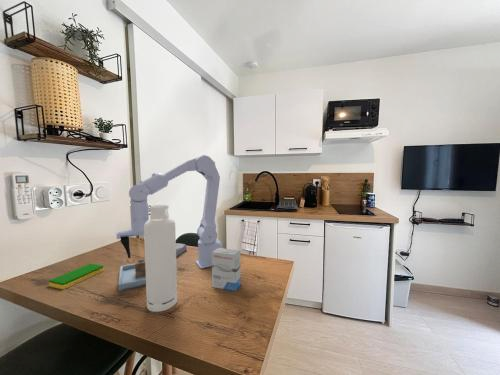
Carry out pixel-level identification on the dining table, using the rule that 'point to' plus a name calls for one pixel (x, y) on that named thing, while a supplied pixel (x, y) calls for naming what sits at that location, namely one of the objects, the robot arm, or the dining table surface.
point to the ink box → (226, 269)
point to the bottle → (160, 259)
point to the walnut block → (140, 268)
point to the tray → (129, 278)
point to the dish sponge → (75, 276)
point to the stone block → (180, 248)
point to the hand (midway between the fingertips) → (141, 254)
